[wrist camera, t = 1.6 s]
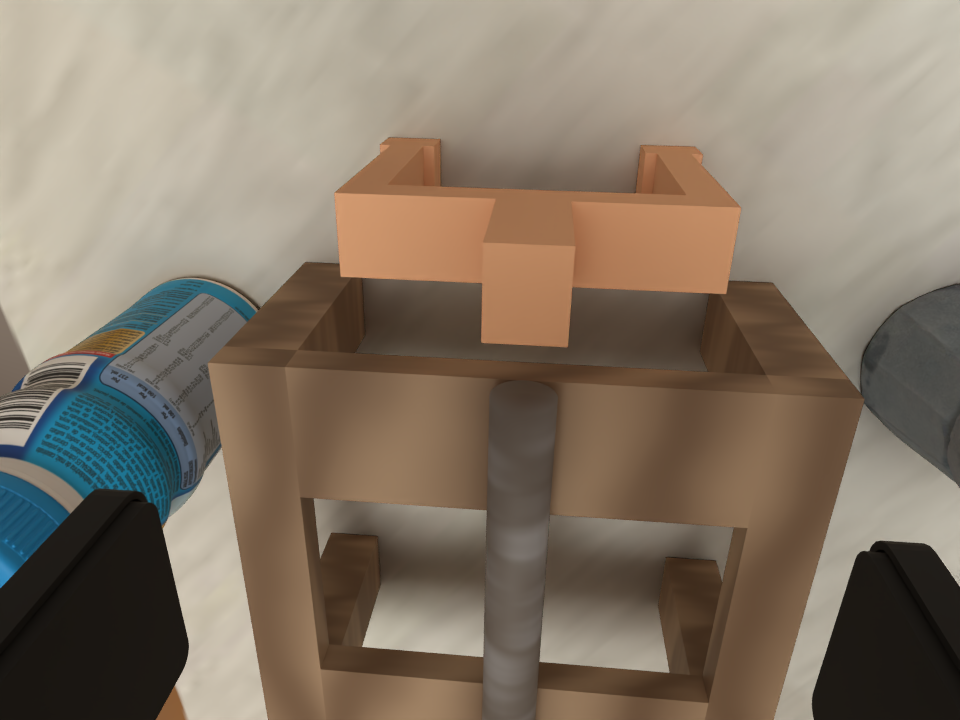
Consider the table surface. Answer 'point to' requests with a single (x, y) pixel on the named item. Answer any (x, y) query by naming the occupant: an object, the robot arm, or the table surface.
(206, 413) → the beverage bottle
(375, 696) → the shelf
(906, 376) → the moka pot
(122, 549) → the robot arm
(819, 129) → the table surface
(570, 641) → the table surface
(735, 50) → the table surface
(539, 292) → the tabbed u-shaped bracket
